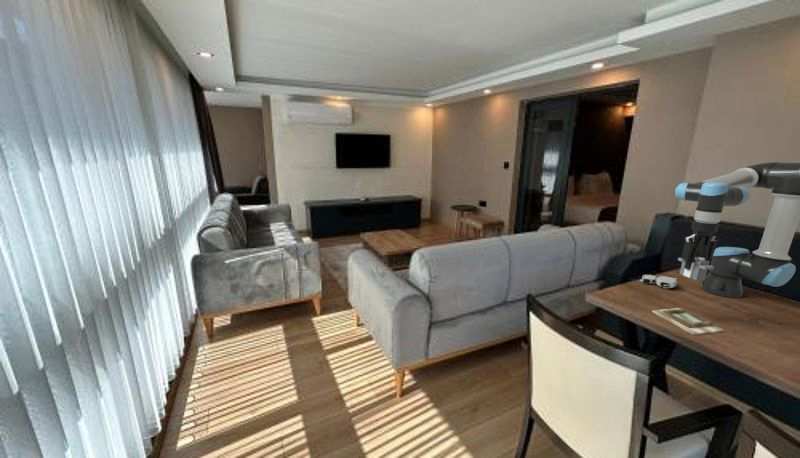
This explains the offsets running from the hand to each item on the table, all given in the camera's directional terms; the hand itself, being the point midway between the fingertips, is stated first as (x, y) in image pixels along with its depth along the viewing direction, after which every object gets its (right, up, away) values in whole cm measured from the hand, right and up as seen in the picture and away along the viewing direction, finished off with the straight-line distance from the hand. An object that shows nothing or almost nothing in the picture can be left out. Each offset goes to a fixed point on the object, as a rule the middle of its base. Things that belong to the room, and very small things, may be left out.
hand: (692, 276), depth 132 cm
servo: (0, 0, 0) cm, 0 cm away
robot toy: (+17, -11, +38) cm, 43 cm away
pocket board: (0, -20, +2) cm, 20 cm away
